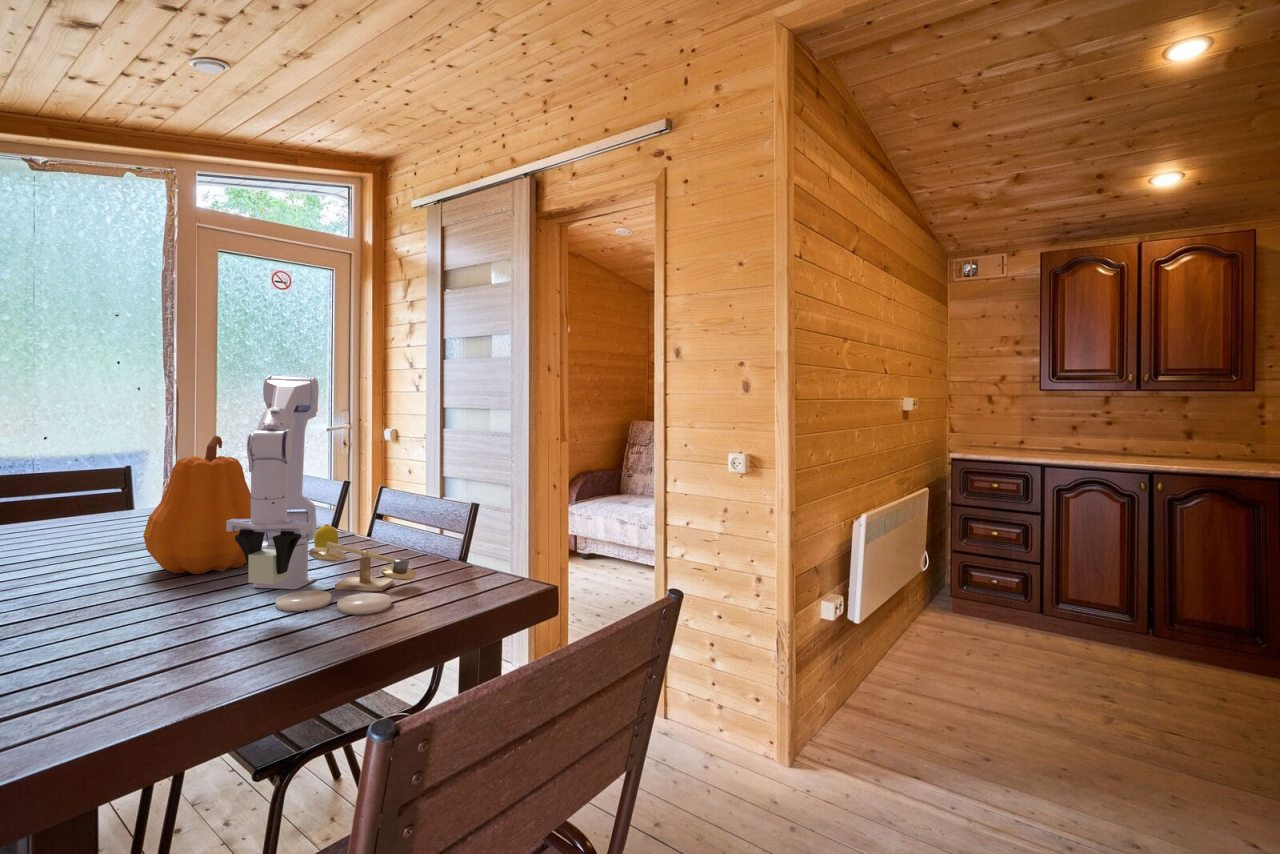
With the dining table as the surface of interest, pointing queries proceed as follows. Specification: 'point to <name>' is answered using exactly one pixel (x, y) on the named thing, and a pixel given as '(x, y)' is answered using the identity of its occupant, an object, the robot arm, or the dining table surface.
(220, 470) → the decorative pumpkin
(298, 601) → the dish left
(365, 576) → the balance stand
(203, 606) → the dining table surface
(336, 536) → the lemon
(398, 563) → the balance beam
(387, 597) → the dish right
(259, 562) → the block
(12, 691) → the dining table surface
